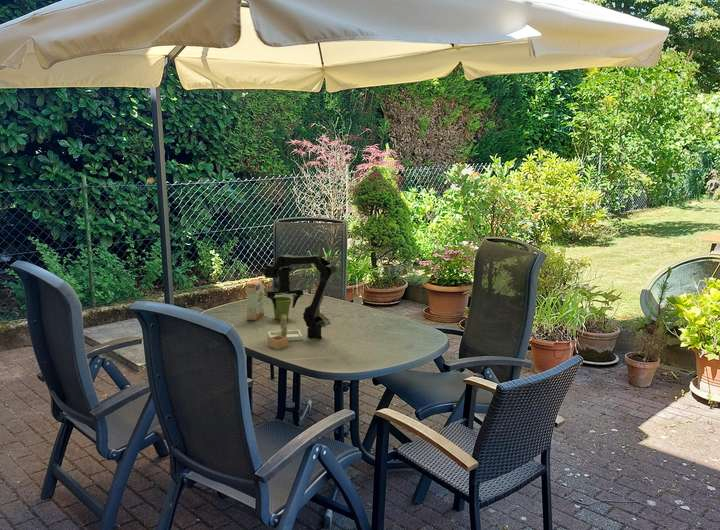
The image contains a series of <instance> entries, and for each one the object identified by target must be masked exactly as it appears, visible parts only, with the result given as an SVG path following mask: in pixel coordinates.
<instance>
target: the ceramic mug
mask: <svg viewBox="0 0 720 530" xmlns="http://www.w3.org/2000/svg"><path fill="white" fill-rule="evenodd" d="M325 315H326V314H325V312H324V311H323V309H322V308H320V313H319V316H320V317H321V318H322V319H323V323H326V324H330V323H329V322H331V319H330V318H328V317H327V316H325Z"/></svg>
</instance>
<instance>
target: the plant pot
mask: <svg viewBox="0 0 720 530" xmlns="http://www.w3.org/2000/svg"><path fill="white" fill-rule="evenodd" d="M274 297H275V298H276V310H275V308H274V305H273V302H272V301H271V303H272V308H273V313H274V318H275V320H281V314H286V315H287V319H288V318H289V314H290V306H291V302H292V301H293V297H290V296H274Z"/></svg>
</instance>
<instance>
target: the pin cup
mask: <svg viewBox="0 0 720 530" xmlns="http://www.w3.org/2000/svg"><path fill="white" fill-rule="evenodd" d="M267 346H268V347H269V348H272V349H275V350H279V349H283V348H286V347H289V341H288V338H287V337H284V336H281V335H278V336H274V337H270V338H269V337H267Z"/></svg>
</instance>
